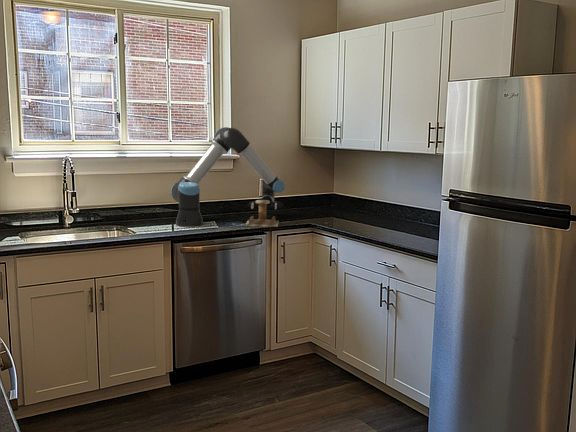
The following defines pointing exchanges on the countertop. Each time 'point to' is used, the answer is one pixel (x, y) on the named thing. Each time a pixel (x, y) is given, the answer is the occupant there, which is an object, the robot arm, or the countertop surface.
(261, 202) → the bobbin
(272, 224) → the board
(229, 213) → the countertop surface
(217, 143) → the robot arm
